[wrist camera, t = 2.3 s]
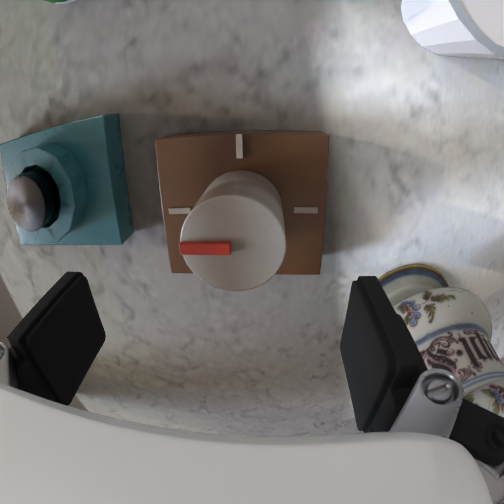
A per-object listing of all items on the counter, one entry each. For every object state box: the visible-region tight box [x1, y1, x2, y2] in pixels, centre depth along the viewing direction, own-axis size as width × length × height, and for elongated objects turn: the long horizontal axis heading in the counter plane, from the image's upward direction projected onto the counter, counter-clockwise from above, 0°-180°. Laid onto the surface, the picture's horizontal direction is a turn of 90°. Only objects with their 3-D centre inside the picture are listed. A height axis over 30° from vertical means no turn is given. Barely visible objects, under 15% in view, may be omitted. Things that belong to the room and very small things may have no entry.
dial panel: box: [155, 130, 329, 274], centre depth 19 cm, size 10×9×3 cm
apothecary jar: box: [378, 265, 504, 417], centre depth 16 cm, size 12×12×18 cm
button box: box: [0, 113, 134, 245], centre depth 18 cm, size 11×9×4 cm
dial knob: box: [179, 170, 286, 291], centre depth 16 cm, size 5×5×5 cm
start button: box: [7, 168, 60, 232], centre depth 16 cm, size 4×4×2 cm
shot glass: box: [401, 0, 504, 59], centre depth 10 cm, size 7×7×7 cm
